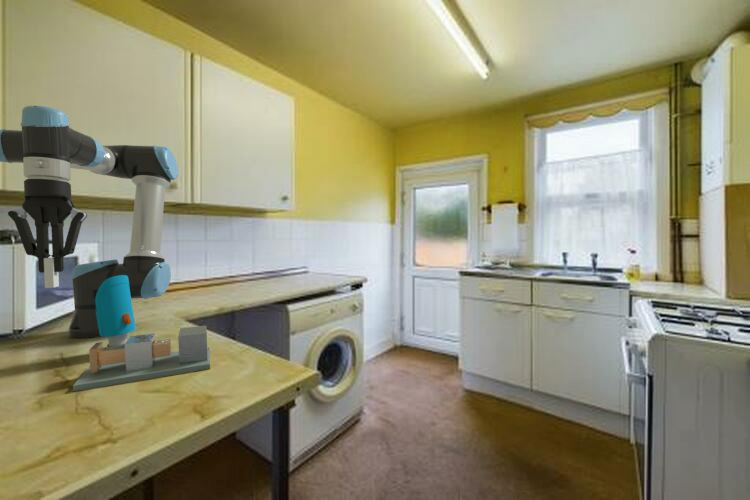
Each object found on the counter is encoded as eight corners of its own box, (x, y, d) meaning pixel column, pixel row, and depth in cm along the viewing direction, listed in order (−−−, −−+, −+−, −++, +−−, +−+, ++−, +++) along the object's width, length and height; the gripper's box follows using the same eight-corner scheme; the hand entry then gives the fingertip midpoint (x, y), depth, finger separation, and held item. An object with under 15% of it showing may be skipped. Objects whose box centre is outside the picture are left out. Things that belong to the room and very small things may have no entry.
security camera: (113, 272, 98) (142, 273, 96) (116, 346, 99) (146, 348, 97) (82, 276, 90) (114, 277, 88) (87, 356, 91) (118, 359, 89)
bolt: (97, 364, 80) (96, 342, 80) (171, 354, 87) (171, 333, 86) (90, 373, 75) (89, 349, 75) (169, 361, 82) (169, 339, 82)
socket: (181, 354, 89) (180, 328, 88) (207, 350, 91) (206, 325, 91) (179, 364, 82) (178, 336, 81) (207, 360, 84) (206, 333, 84)
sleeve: (131, 362, 84) (130, 336, 83) (156, 358, 86) (154, 333, 85) (126, 372, 78) (124, 344, 77) (152, 368, 80) (151, 341, 80)
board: (91, 368, 83) (91, 363, 83) (209, 351, 94) (209, 347, 94) (73, 391, 71) (72, 385, 71) (209, 368, 82) (209, 363, 82)
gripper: (-3, 175, 70) (2, 291, 70) (79, 179, 75) (82, 287, 76) (17, 181, 77) (21, 287, 77) (90, 184, 82) (94, 283, 83)
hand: (52, 287), depth 77 cm, fingers closed
